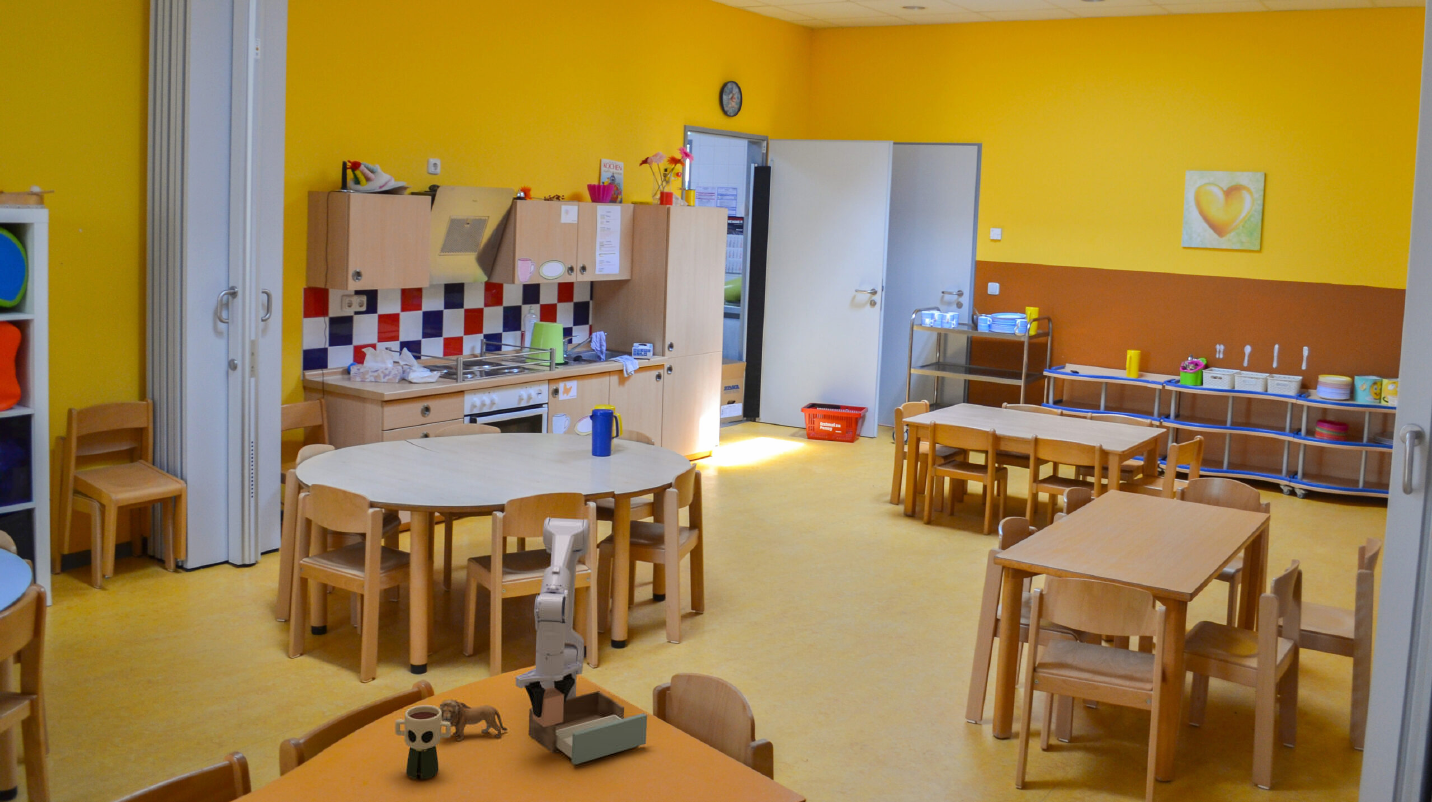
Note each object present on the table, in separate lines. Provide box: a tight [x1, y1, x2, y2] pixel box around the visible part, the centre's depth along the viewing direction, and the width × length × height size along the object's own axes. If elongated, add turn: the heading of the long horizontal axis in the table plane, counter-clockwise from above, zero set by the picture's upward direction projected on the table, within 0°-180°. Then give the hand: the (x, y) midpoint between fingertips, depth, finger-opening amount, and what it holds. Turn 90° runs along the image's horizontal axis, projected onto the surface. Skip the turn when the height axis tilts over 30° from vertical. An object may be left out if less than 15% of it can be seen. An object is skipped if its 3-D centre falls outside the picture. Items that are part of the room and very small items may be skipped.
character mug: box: [394, 704, 452, 780], centre depth 232 cm, size 11×7×13 cm, turn 90°
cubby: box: [528, 690, 625, 754], centre depth 254 cm, size 10×18×6 cm, turn 129°
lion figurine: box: [438, 698, 508, 742], centre depth 250 cm, size 15×5×9 cm, turn 115°
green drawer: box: [556, 712, 648, 765], centre depth 247 cm, size 11×18×6 cm, turn 129°
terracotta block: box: [533, 687, 564, 727], centre depth 243 cm, size 4×4×6 cm
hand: (548, 712), depth 243 cm, fingers closed on terracotta block, 4 cm apart
